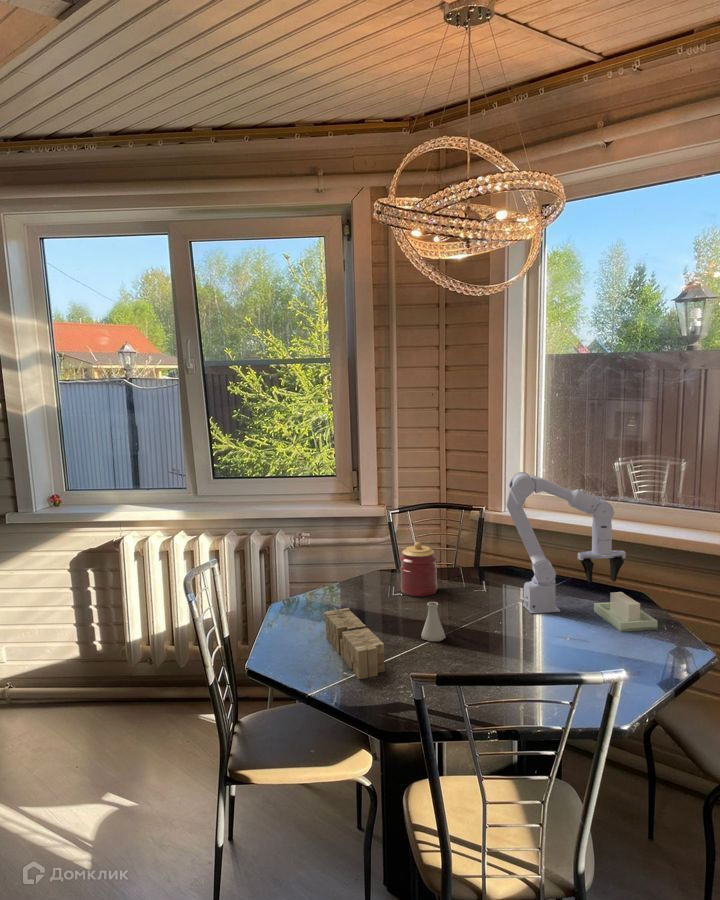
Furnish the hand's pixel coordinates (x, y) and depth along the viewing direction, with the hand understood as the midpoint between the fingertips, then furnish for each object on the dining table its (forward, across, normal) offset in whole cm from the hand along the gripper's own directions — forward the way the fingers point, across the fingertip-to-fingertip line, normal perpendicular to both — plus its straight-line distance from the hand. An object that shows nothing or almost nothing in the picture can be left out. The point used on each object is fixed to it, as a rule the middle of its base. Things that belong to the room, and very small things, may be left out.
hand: (601, 581), depth 197 cm
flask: (+10, -56, -13) cm, 58 cm away
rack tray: (+9, +3, -9) cm, 13 cm away
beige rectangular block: (+9, +3, -9) cm, 13 cm away
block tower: (+10, -79, -21) cm, 83 cm away
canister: (+10, -53, +28) cm, 61 cm away
